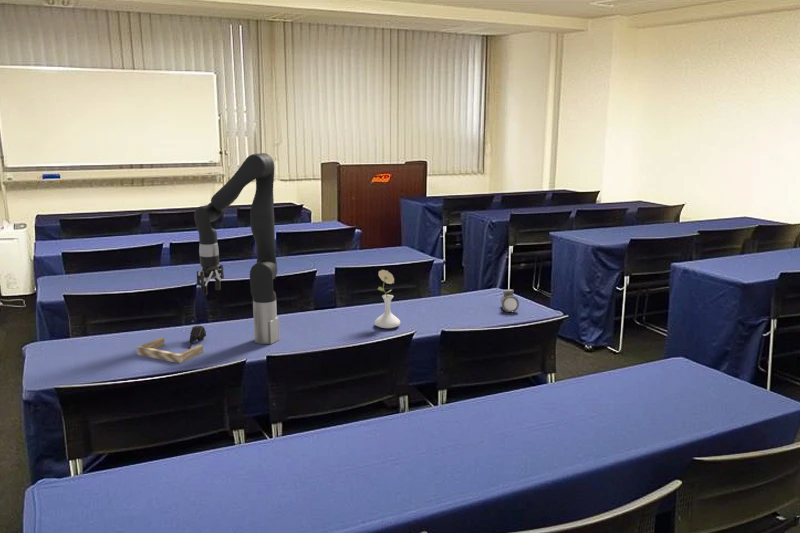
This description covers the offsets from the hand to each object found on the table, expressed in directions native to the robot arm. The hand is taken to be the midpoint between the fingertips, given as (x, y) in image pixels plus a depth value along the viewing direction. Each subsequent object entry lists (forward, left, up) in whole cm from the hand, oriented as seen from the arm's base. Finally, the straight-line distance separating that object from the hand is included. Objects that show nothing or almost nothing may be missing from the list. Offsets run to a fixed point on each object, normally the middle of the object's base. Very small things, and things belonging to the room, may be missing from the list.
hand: (211, 292), depth 265 cm
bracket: (0, +25, -18) cm, 31 cm away
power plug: (-1, +12, -19) cm, 22 cm away
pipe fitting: (-102, -91, -18) cm, 138 cm away
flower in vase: (-60, -42, -18) cm, 76 cm away
